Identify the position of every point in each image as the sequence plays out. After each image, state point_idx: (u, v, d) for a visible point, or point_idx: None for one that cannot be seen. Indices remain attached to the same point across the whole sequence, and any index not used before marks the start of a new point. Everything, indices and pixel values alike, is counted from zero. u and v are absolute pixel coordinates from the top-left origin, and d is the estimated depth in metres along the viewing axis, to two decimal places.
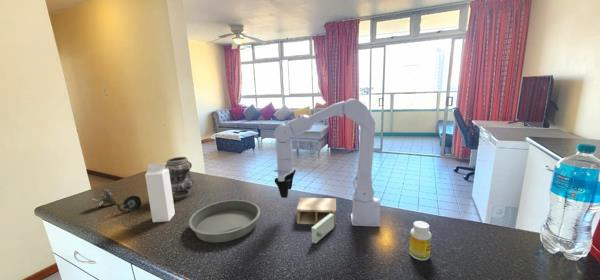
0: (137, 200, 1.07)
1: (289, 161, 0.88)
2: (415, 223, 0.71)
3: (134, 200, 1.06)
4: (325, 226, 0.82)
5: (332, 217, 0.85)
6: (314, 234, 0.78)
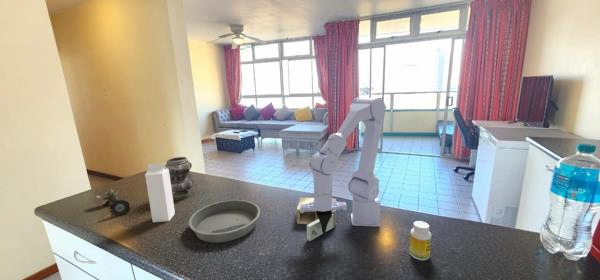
0: (126, 205, 1.03)
1: (318, 197, 0.76)
2: (415, 223, 0.70)
3: (123, 204, 1.02)
4: None
5: (331, 217, 0.85)
6: (309, 232, 0.79)
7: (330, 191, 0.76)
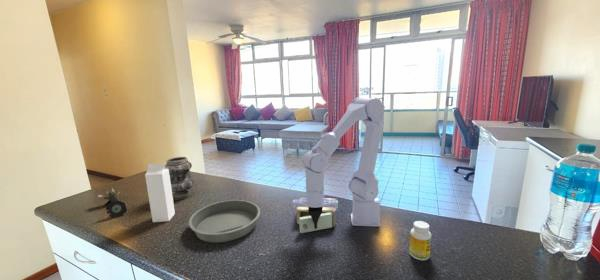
0: (123, 206, 1.02)
1: (308, 193, 0.79)
2: (415, 223, 0.70)
3: (120, 205, 1.02)
4: None
5: (329, 216, 0.86)
6: (300, 224, 0.83)
7: (320, 188, 0.78)
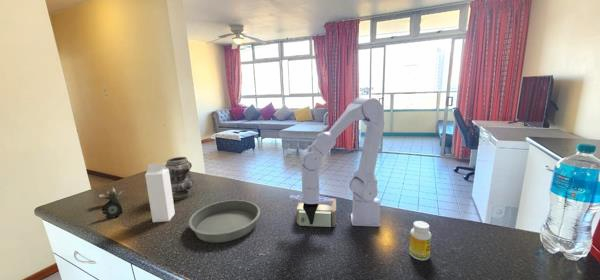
0: (119, 207, 1.01)
1: (303, 190, 0.82)
2: (415, 223, 0.71)
3: (116, 206, 1.01)
4: (314, 218, 0.87)
5: (328, 215, 0.86)
6: None
7: (315, 186, 0.81)
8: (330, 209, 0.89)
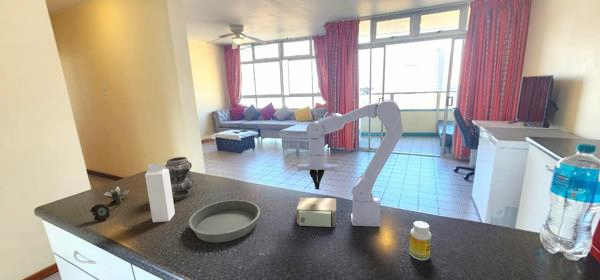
0: (108, 210, 0.99)
1: (311, 157, 0.91)
2: (415, 223, 0.70)
3: (105, 208, 0.99)
4: (314, 218, 0.87)
5: (328, 215, 0.86)
6: None
7: (316, 153, 0.90)
8: (330, 209, 0.89)
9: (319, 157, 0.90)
